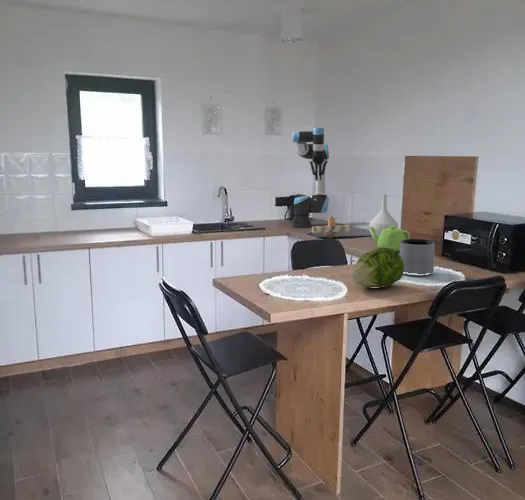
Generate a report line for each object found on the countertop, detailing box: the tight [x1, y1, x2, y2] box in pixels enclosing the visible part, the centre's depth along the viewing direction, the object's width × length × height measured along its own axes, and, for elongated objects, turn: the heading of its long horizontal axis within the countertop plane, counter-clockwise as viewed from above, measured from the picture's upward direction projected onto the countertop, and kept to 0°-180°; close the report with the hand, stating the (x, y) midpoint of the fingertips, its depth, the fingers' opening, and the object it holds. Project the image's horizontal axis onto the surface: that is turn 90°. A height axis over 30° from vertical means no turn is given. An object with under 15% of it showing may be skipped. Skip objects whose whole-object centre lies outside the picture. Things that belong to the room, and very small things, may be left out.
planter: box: [399, 238, 436, 274], centre depth 249 cm, size 16×16×16 cm
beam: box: [311, 224, 352, 239], centre depth 354 cm, size 26×8×8 cm, turn 101°
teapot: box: [368, 226, 411, 253], centre depth 307 cm, size 19×20×14 cm
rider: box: [327, 216, 336, 227], centre depth 353 cm, size 4×3×8 cm
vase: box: [368, 194, 399, 238], centre depth 336 cm, size 18×18×30 cm
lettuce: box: [351, 247, 404, 288], centre depth 225 cm, size 17×23×17 cm
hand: (318, 185), depth 362 cm, fingers closed
